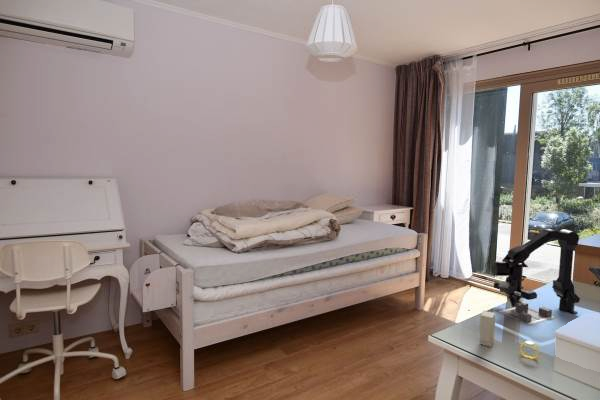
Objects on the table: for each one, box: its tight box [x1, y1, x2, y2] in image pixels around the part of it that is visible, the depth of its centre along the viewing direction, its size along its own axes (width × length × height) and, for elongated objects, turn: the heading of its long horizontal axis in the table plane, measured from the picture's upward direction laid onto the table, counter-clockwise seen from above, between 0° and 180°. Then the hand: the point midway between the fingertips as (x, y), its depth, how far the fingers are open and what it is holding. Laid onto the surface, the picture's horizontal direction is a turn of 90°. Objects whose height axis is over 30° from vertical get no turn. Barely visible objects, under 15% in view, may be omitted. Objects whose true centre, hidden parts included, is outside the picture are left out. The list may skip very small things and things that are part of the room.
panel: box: [497, 306, 557, 326], centre depth 171 cm, size 18×16×4 cm
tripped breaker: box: [515, 300, 529, 313], centre depth 173 cm, size 3×4×4 cm
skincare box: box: [479, 310, 496, 348], centre depth 147 cm, size 6×4×12 cm
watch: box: [519, 340, 540, 360], centre depth 136 cm, size 6×3×6 cm, turn 52°
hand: (513, 307), depth 177 cm, fingers closed
